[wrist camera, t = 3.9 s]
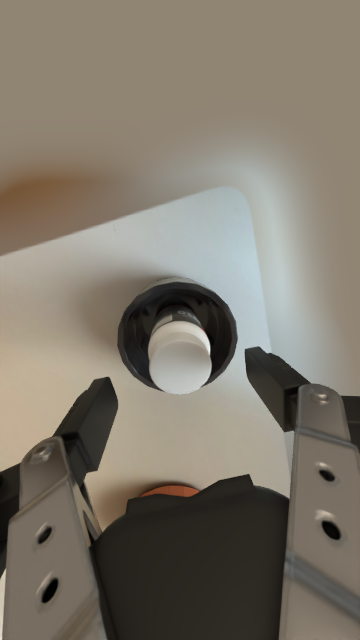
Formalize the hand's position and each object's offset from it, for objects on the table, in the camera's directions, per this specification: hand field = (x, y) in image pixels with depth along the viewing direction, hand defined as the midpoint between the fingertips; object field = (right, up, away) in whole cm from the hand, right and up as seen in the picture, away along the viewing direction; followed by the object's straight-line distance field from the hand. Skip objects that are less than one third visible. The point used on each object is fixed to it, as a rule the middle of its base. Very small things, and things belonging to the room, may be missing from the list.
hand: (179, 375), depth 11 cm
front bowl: (0, +3, +9) cm, 10 cm away
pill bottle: (0, +3, +9) cm, 9 cm away
